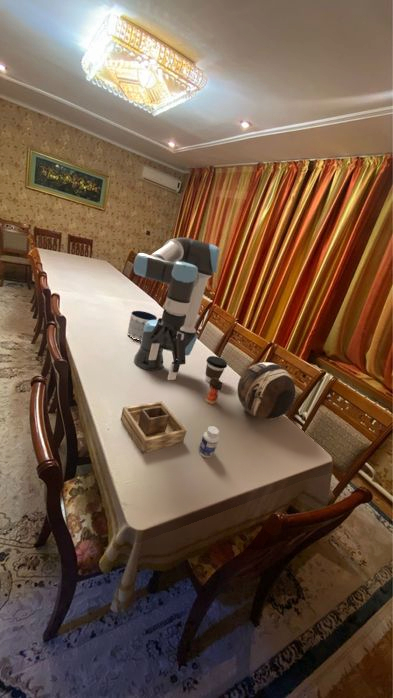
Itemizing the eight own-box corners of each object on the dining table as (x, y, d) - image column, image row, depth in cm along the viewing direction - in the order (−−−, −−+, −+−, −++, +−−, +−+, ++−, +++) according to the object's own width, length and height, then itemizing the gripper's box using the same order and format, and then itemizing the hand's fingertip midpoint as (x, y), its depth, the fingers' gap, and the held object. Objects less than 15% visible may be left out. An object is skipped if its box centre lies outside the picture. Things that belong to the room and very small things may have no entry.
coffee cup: (225, 383, 153) (231, 363, 149) (212, 387, 145) (218, 366, 140) (209, 373, 159) (216, 354, 155) (196, 377, 151) (202, 357, 147)
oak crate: (158, 411, 114) (161, 401, 113) (183, 442, 102) (186, 430, 100) (120, 418, 105) (123, 407, 103) (142, 453, 92) (145, 440, 90)
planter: (150, 344, 175) (155, 322, 170) (124, 337, 174) (128, 315, 169) (154, 335, 190) (158, 315, 185) (130, 329, 189) (134, 308, 184)
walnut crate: (157, 421, 107) (161, 405, 105) (165, 431, 103) (169, 415, 101) (137, 425, 102) (141, 409, 100) (145, 436, 98) (149, 419, 96)
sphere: (251, 434, 117) (273, 381, 108) (220, 398, 137) (237, 351, 128) (294, 428, 130) (316, 380, 121) (260, 396, 150) (277, 353, 141)
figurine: (218, 401, 134) (226, 378, 130) (215, 406, 129) (223, 383, 125) (206, 395, 136) (213, 373, 132) (202, 401, 131) (209, 378, 126)
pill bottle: (197, 445, 102) (205, 423, 99) (212, 448, 103) (219, 426, 100) (198, 456, 97) (206, 433, 94) (214, 459, 98) (222, 436, 95)
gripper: (147, 298, 99) (136, 352, 107) (187, 327, 82) (170, 390, 90) (165, 299, 104) (153, 351, 112) (207, 327, 87) (189, 387, 95)
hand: (161, 369), depth 101 cm, fingers open, 13 cm apart
